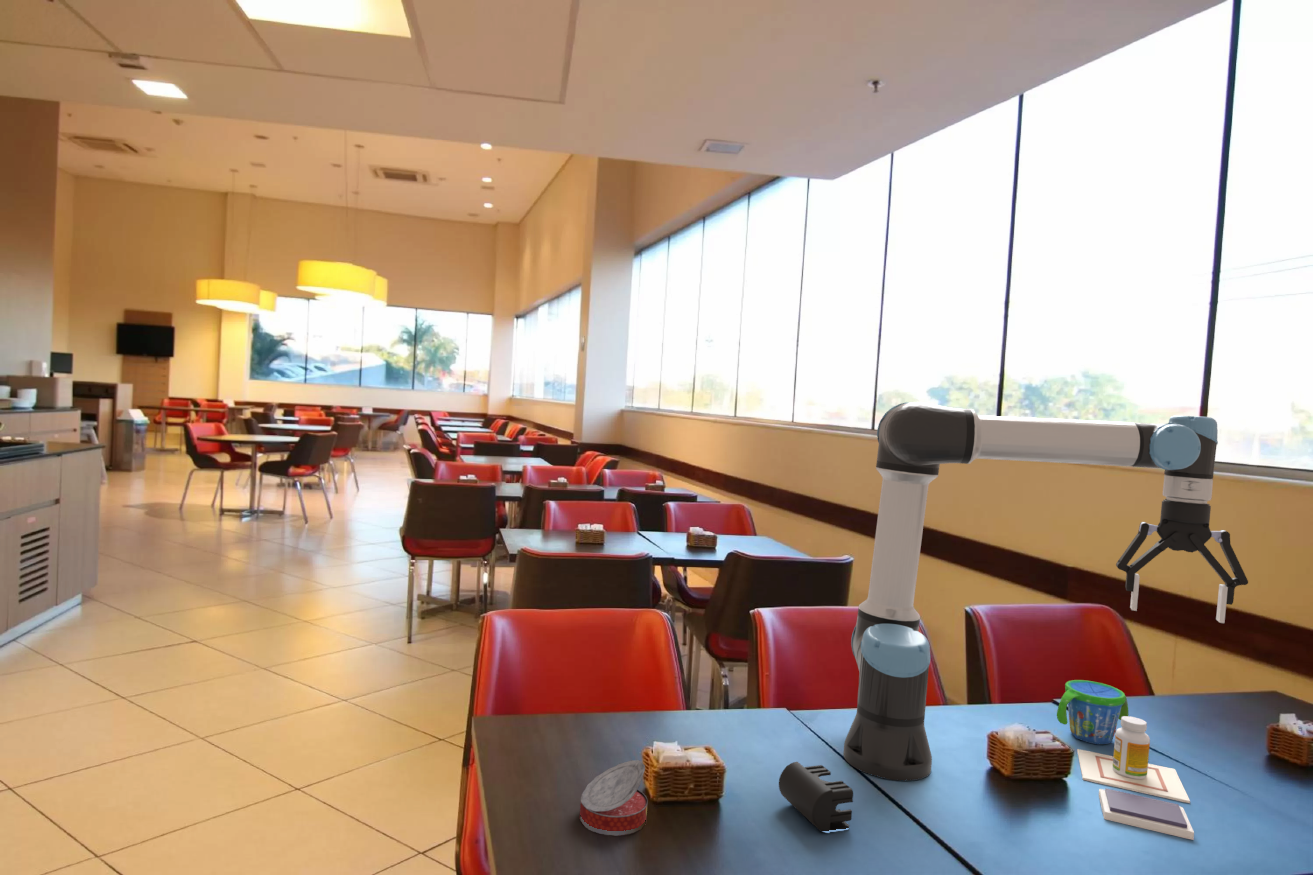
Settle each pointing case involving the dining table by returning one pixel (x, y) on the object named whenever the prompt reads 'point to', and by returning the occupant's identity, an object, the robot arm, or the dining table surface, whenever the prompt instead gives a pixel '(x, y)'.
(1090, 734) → the snack cup
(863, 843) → the dining table surface
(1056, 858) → the dining table surface
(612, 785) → the canned food
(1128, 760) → the supplement bottle
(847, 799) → the end cap
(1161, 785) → the cream flat board
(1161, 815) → the ink pad
